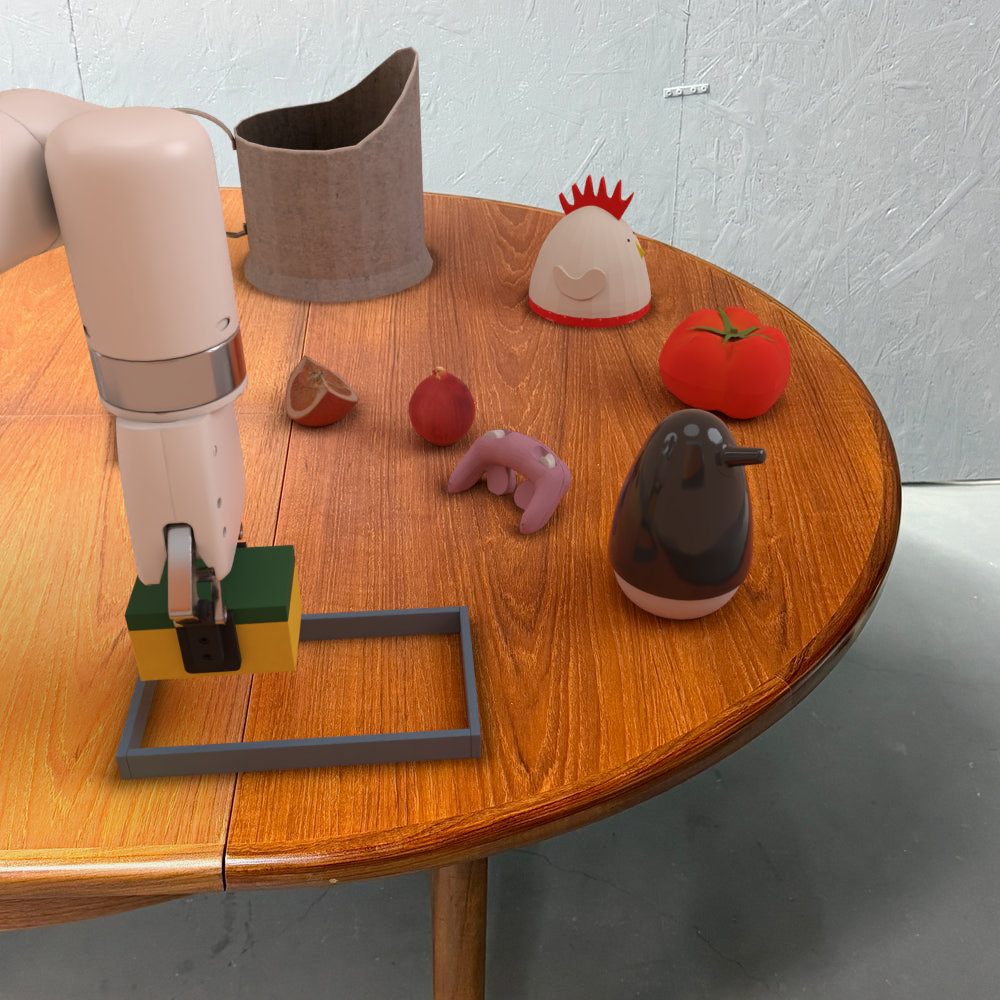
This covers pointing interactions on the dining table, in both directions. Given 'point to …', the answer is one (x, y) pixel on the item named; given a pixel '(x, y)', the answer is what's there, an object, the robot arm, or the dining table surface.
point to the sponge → (249, 595)
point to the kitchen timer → (591, 264)
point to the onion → (442, 408)
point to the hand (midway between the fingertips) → (221, 629)
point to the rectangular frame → (321, 749)
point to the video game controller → (500, 460)
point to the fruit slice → (317, 394)
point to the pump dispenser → (685, 518)
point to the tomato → (726, 362)
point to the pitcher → (336, 190)
